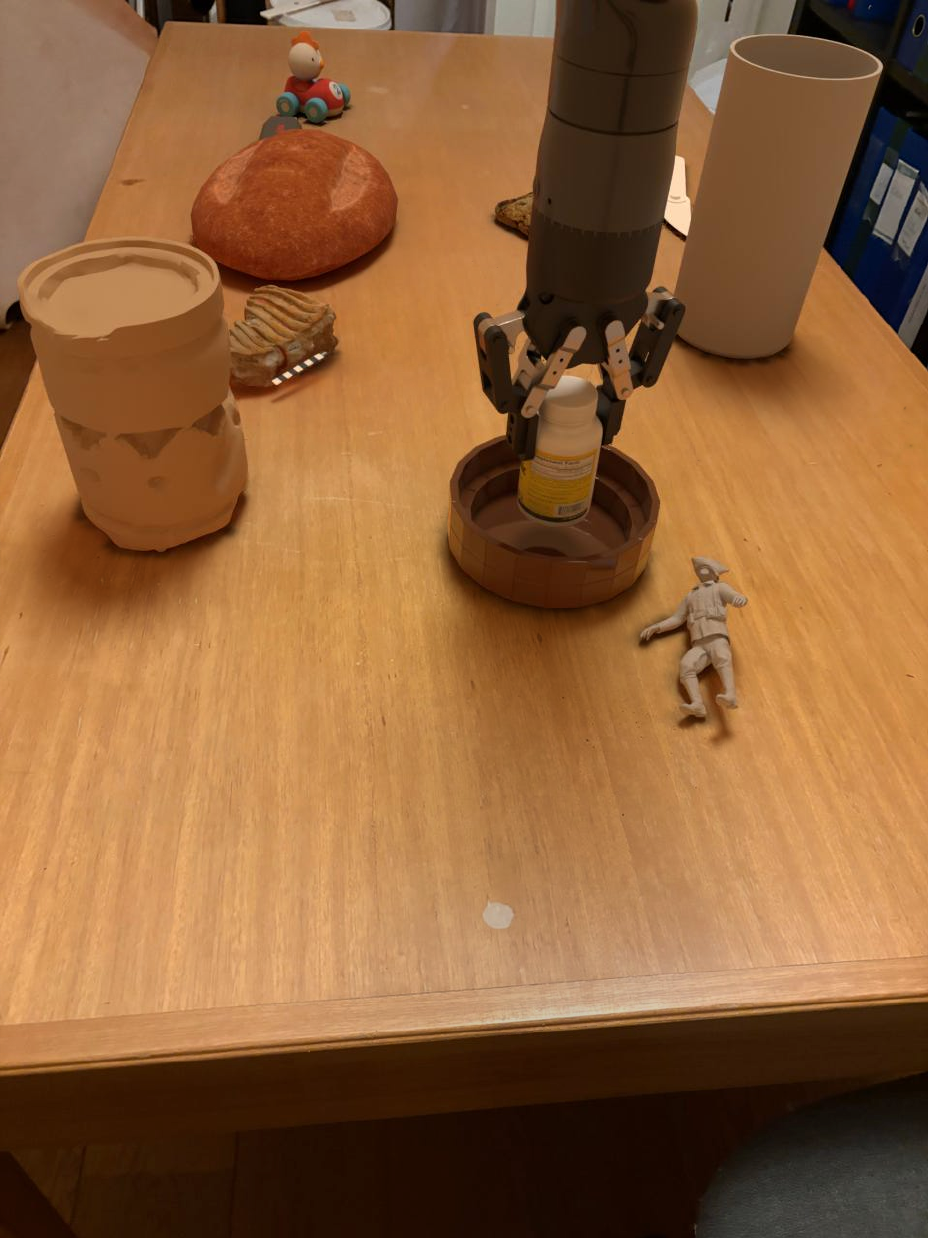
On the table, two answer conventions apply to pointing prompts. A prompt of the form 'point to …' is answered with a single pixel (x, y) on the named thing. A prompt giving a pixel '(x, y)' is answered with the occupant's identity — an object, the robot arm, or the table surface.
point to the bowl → (550, 531)
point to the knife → (678, 199)
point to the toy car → (310, 84)
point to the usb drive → (278, 126)
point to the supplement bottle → (562, 456)
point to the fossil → (279, 337)
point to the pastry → (516, 212)
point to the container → (140, 385)
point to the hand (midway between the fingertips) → (562, 445)
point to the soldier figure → (705, 633)
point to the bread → (294, 206)
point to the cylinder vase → (770, 188)
